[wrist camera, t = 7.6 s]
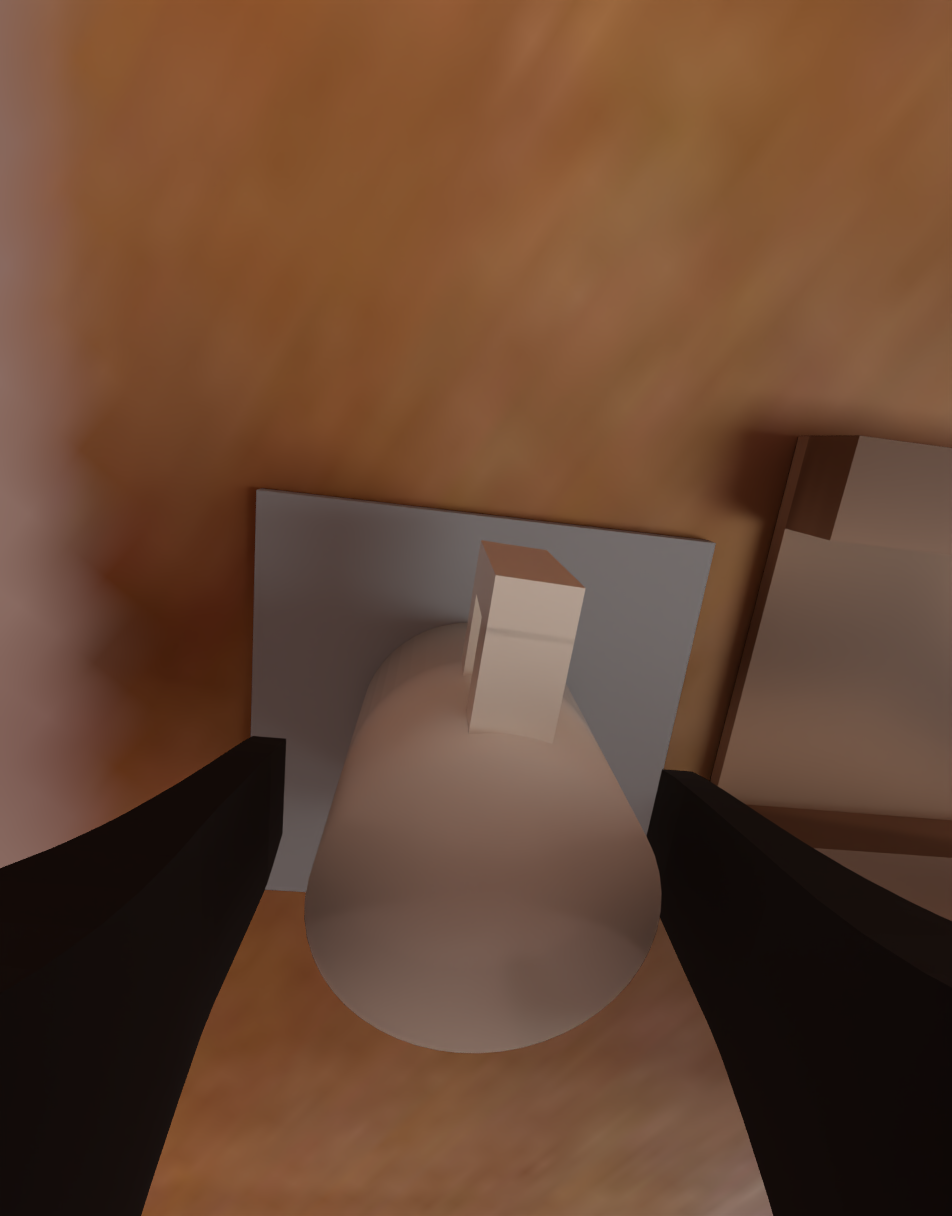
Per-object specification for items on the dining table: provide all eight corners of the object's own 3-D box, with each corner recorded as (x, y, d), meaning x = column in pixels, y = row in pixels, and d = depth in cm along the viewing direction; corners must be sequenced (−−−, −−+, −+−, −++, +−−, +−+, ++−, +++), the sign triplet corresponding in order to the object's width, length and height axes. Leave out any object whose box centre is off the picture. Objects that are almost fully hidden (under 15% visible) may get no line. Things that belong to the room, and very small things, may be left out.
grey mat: (625, 900, 16) (630, 911, 16) (252, 877, 16) (247, 888, 15) (707, 539, 14) (715, 543, 13) (261, 488, 13) (256, 489, 12)
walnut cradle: (996, 879, 17) (1068, 935, 15) (690, 857, 16) (723, 915, 14) (1163, 484, 14) (1279, 492, 12) (798, 435, 13) (860, 435, 11)
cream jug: (550, 825, 15) (619, 1063, 9) (350, 804, 15) (290, 1040, 9) (612, 544, 13) (745, 620, 7) (386, 509, 13) (340, 562, 7)
